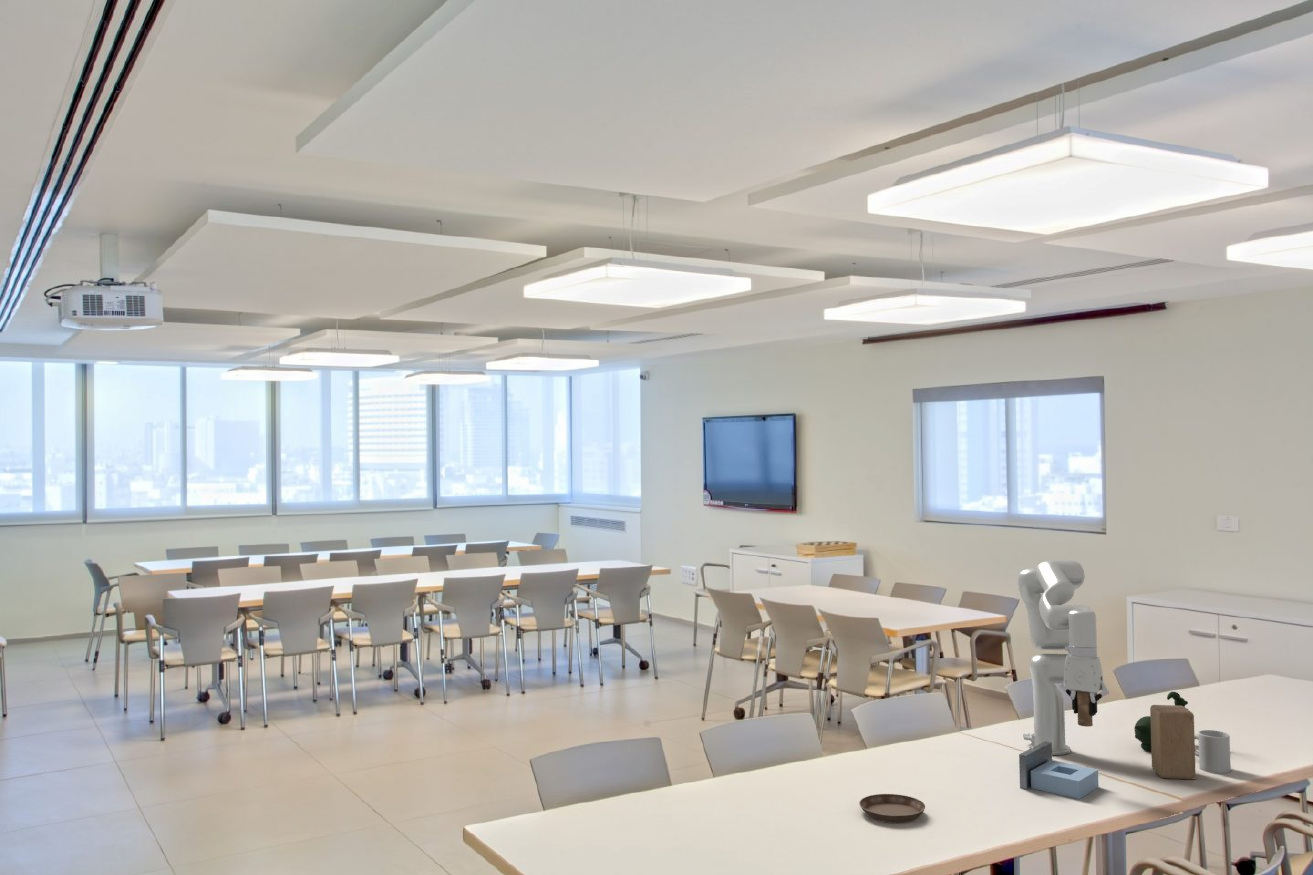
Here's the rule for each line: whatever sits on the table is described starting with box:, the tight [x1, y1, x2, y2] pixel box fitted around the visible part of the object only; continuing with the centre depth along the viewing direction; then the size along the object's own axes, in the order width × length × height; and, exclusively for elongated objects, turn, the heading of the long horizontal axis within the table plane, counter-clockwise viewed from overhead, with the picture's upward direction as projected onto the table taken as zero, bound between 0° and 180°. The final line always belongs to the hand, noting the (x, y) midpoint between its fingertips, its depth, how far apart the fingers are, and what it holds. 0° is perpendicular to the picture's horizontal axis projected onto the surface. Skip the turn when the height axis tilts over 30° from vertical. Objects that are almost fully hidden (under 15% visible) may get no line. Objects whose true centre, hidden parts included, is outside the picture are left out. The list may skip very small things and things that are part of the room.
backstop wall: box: [1018, 741, 1053, 790], centre depth 297 cm, size 2×18×10 cm, turn 135°
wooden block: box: [1149, 704, 1197, 780], centre depth 302 cm, size 10×10×20 cm
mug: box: [1194, 729, 1232, 775], centre depth 307 cm, size 12×8×11 cm
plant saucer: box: [858, 793, 926, 824], centre depth 272 cm, size 18×18×3 cm
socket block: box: [1030, 759, 1100, 800], centre depth 291 cm, size 14×14×5 cm
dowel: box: [1077, 691, 1093, 727], centre depth 293 cm, size 4×4×12 cm
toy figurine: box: [1134, 691, 1189, 753], centre depth 329 cm, size 9×19×25 cm
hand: (1084, 713), depth 293 cm, fingers closed on dowel, 4 cm apart
